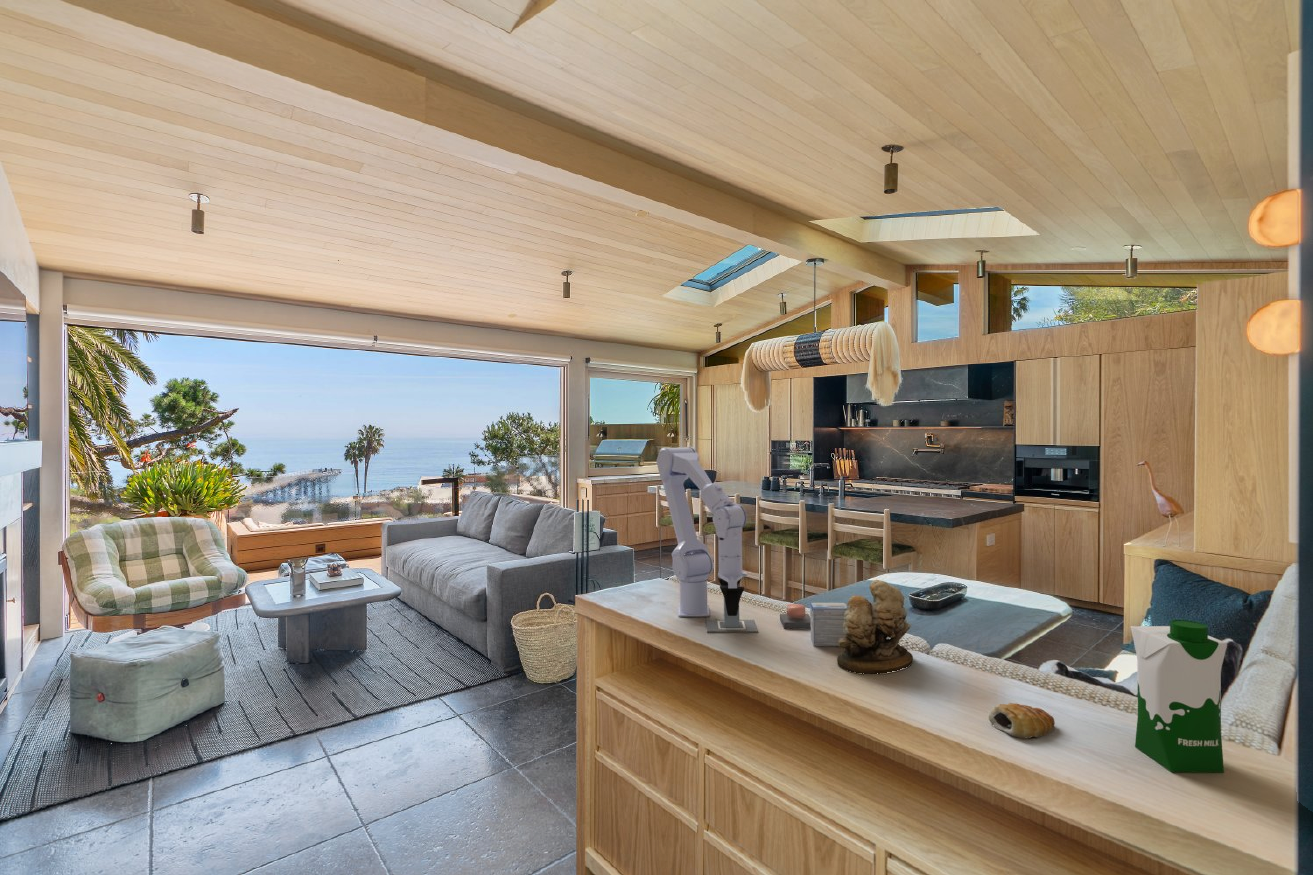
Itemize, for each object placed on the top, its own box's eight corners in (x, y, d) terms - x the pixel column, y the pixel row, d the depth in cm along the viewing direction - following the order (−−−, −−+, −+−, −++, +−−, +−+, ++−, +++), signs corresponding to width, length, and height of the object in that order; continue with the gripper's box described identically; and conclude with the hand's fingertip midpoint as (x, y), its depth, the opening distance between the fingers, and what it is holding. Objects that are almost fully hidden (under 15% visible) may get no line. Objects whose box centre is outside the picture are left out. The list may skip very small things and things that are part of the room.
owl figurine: (883, 646, 139) (883, 568, 139) (930, 663, 129) (930, 579, 129) (822, 661, 130) (822, 578, 130) (868, 681, 120) (867, 591, 120)
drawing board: (706, 621, 159) (706, 619, 159) (754, 621, 158) (754, 619, 158) (707, 632, 150) (707, 630, 150) (758, 632, 149) (758, 630, 149)
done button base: (779, 619, 159) (779, 613, 159) (808, 619, 158) (808, 613, 158) (784, 628, 152) (784, 622, 152) (813, 628, 151) (813, 622, 151)
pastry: (1031, 716, 105) (1031, 693, 105) (1068, 735, 98) (1068, 710, 98) (984, 723, 102) (984, 700, 102) (1018, 743, 96) (1018, 718, 96)
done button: (785, 612, 157) (785, 603, 157) (803, 612, 157) (803, 603, 157) (788, 617, 153) (788, 608, 153) (807, 617, 153) (806, 608, 153)
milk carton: (1170, 776, 86) (1169, 629, 85) (1123, 743, 95) (1122, 610, 94) (1237, 776, 85) (1236, 629, 85) (1183, 743, 94) (1182, 610, 94)
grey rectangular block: (724, 622, 156) (723, 590, 156) (738, 622, 156) (737, 590, 155) (724, 627, 152) (724, 594, 152) (739, 627, 152) (738, 594, 152)
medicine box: (846, 640, 143) (845, 602, 143) (850, 647, 138) (849, 607, 138) (810, 640, 143) (809, 601, 143) (813, 646, 139) (812, 607, 139)
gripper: (749, 561, 146) (750, 619, 146) (744, 549, 161) (745, 602, 161) (719, 561, 147) (720, 619, 147) (716, 549, 161) (717, 602, 161)
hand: (731, 610), depth 154 cm, fingers open, 7 cm apart
